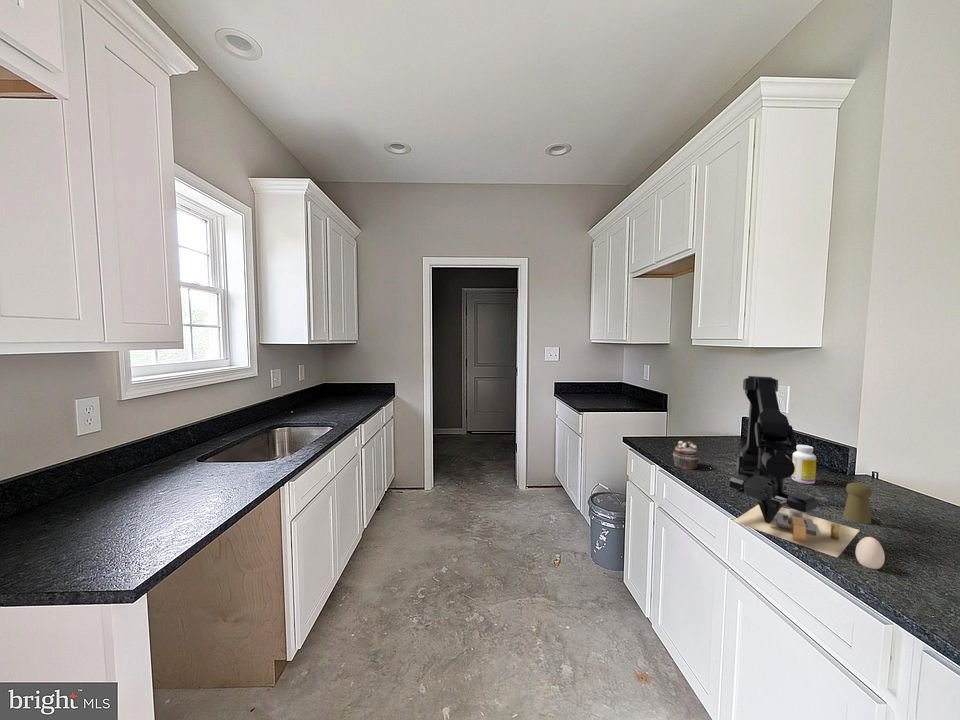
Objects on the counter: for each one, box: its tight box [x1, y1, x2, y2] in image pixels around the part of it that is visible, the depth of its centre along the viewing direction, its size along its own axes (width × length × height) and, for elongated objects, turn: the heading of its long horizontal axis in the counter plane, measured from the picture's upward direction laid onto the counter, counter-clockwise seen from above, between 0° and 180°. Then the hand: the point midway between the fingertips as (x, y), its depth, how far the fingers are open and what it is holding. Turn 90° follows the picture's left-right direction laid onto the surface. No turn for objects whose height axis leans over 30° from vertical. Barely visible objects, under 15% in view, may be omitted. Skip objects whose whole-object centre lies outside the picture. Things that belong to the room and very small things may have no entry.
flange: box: [775, 512, 817, 543], centre depth 104 cm, size 14×8×4 cm, turn 146°
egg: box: [855, 536, 886, 570], centre depth 88 cm, size 5×5×7 cm
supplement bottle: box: [791, 444, 817, 485], centre depth 142 cm, size 7×7×13 cm
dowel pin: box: [830, 522, 840, 540], centre depth 100 cm, size 2×2×4 cm
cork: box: [842, 482, 873, 525], centre depth 110 cm, size 6×6×11 cm
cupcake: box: [672, 439, 701, 470], centre depth 158 cm, size 10×10×10 cm
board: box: [732, 503, 860, 558], centre depth 107 cm, size 22×22×5 cm
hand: (768, 522), depth 106 cm, fingers closed
